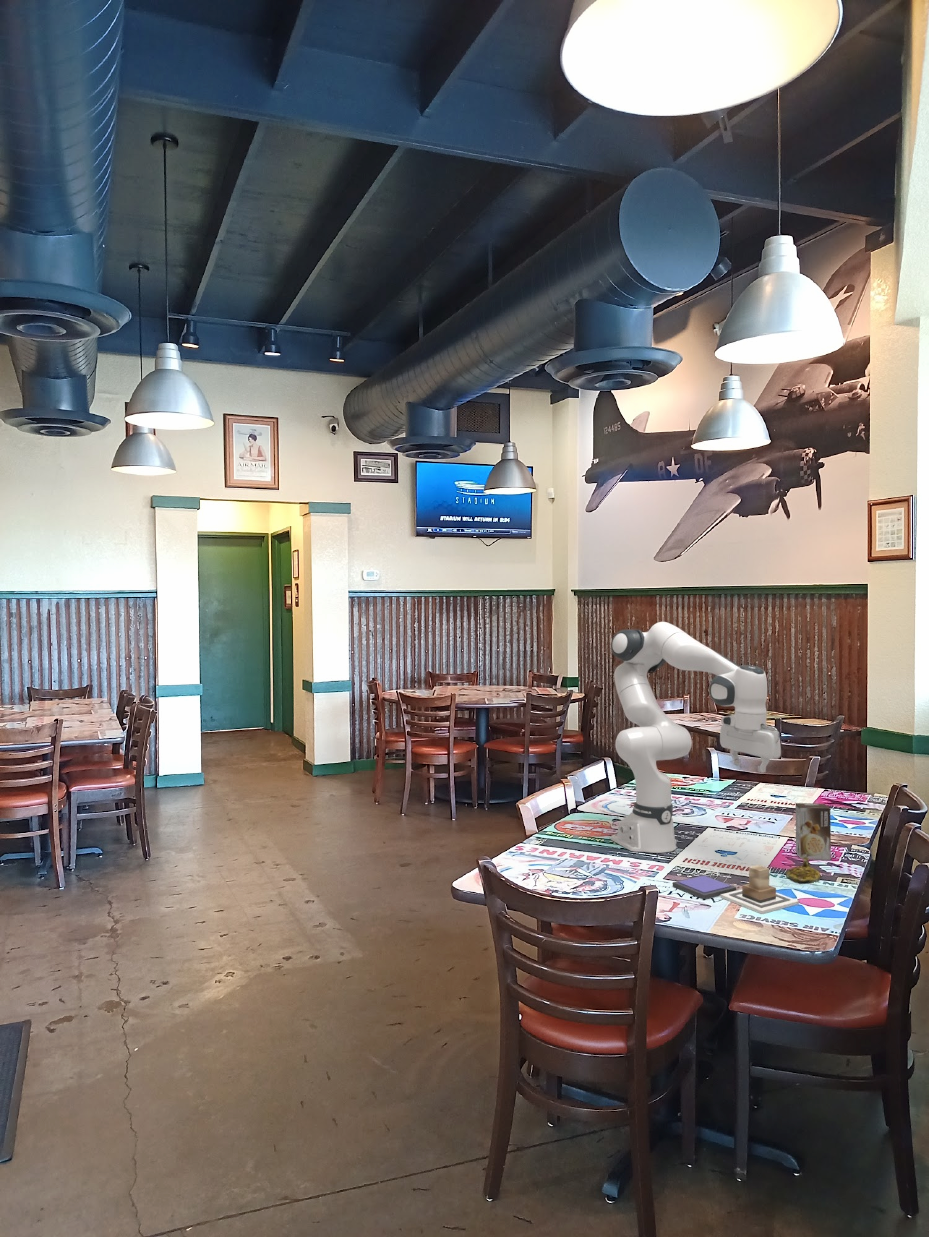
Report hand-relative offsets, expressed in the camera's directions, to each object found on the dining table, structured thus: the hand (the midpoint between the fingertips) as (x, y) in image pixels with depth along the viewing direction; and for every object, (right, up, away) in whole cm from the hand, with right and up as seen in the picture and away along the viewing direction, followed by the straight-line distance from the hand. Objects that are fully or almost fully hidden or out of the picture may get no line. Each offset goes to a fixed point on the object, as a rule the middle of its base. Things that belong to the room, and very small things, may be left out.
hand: (749, 768), depth 254 cm
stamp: (-5, -31, -23) cm, 38 cm away
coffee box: (+25, -30, +15) cm, 42 cm away
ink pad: (-17, -31, -13) cm, 38 cm away
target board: (-5, -31, -23) cm, 39 cm away
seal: (+15, -31, -3) cm, 35 cm away
